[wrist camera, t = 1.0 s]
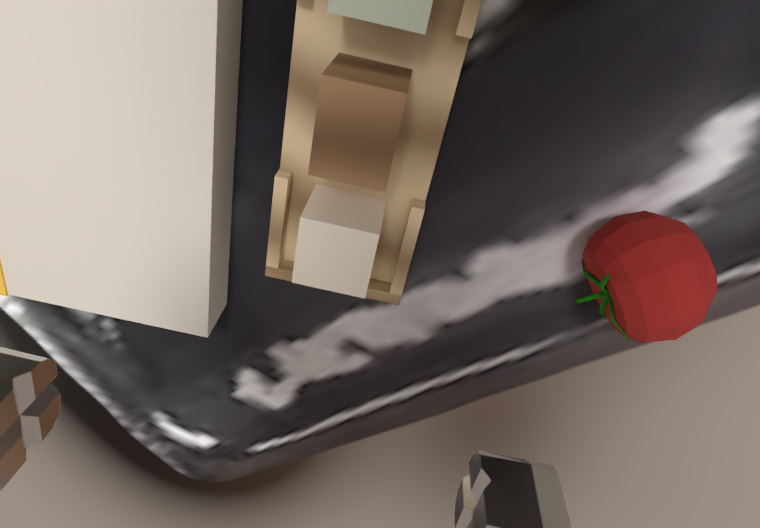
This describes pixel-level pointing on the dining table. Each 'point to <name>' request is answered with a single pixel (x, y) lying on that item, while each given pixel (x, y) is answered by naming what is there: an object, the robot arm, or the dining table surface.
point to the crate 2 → (338, 240)
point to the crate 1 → (386, 12)
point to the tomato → (649, 276)
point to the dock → (119, 156)
